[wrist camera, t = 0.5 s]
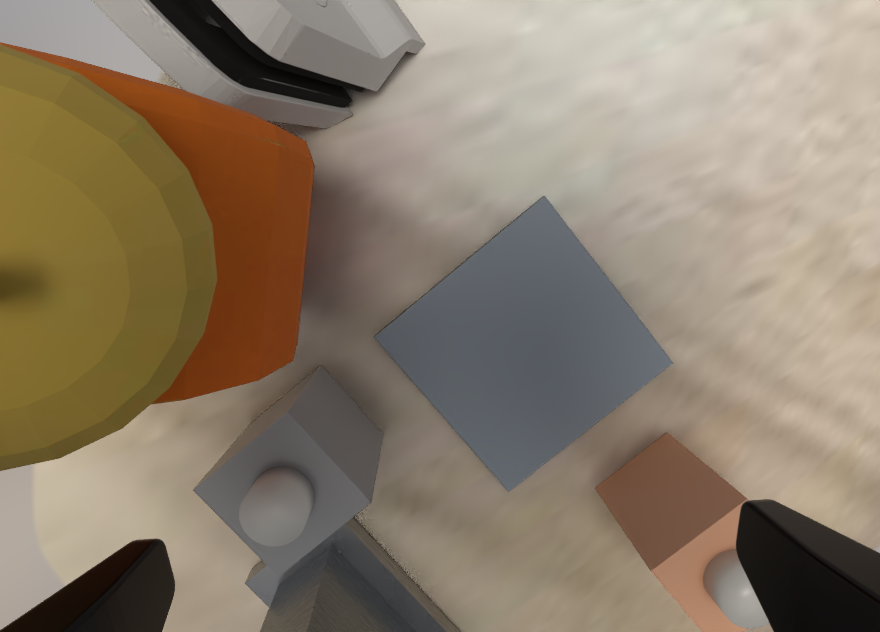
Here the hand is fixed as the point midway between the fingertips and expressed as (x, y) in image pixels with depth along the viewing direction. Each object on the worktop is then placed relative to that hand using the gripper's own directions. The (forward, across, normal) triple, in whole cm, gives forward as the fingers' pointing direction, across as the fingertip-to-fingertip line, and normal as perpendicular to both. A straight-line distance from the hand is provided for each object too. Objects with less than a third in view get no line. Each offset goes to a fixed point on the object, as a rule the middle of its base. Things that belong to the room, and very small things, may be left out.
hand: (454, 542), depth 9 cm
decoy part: (+14, +6, +6) cm, 16 cm away
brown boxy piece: (+14, -9, +10) cm, 19 cm away
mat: (+14, -4, +3) cm, 15 cm away
